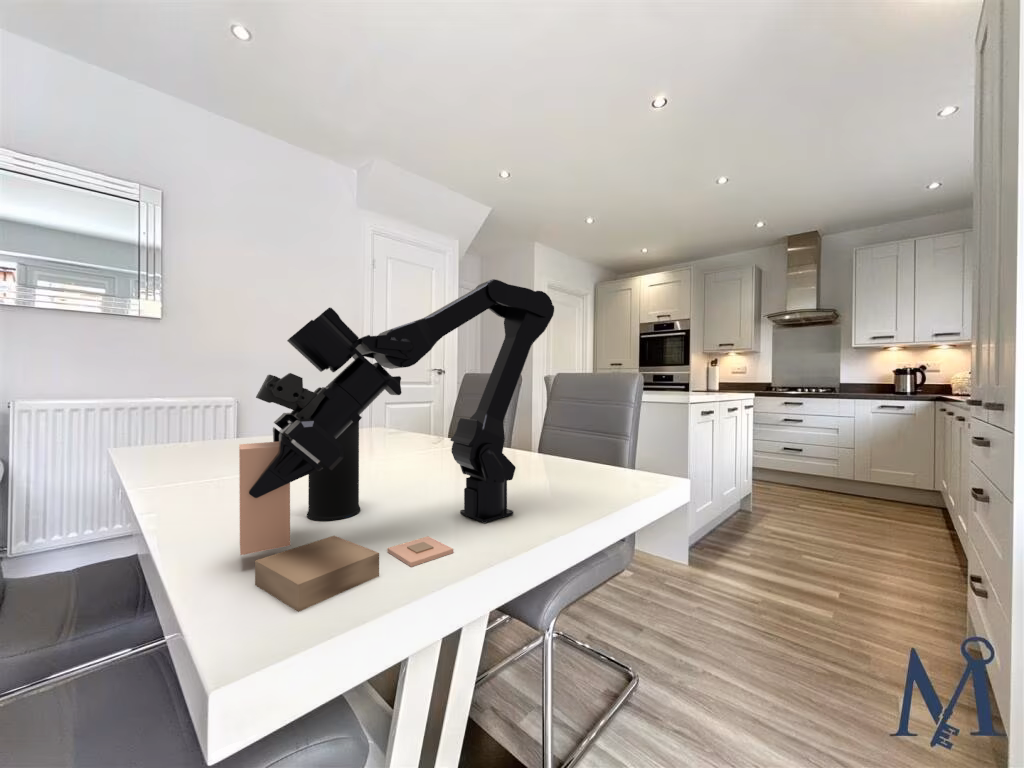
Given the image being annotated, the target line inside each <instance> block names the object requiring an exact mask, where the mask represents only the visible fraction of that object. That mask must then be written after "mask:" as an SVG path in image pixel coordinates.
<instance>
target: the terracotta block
mask: <svg viewBox="0 0 1024 768" xmlns="http://www.w3.org/2000/svg"><path fill="white" fill-rule="evenodd" d="M238 449H239V450H238V451H239V452H238V453H239V456H238V458H239V463H238V464H239V467H238V468H239V470H238V471H239V473H238V476H239V479H238V480H239V483H238V485H239V549H240V550H239V551H240V556H245V555H248V554H249V555H250V554H254V553H260V552H264V551H265V552H266V551H269V550H274V549H280V548H284V547H289V546H291V482H290V483H288V484H286V485H284V486H281V487H279V488H277V489H275V490H273V491H271V492H269V493H267V494H264V495H262V496H260V497H258V498H254V497H253V496H251V495H250V494H249V491H250V489H251V488H252V486H253V485H254V484H255V482H256V481H257V480H258V478H259V477H260V476H261V474H262V473H263V472H264V471H265V469H266V468H267V467H268V465H269V464H270V463H271V461H272V460H273V459H274V457H275V456H276V455H277V454H278V452H279V442H273V441H269V442H268V441H267V442H254V443H253V442H252V443H239V446H238Z"/></svg>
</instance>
